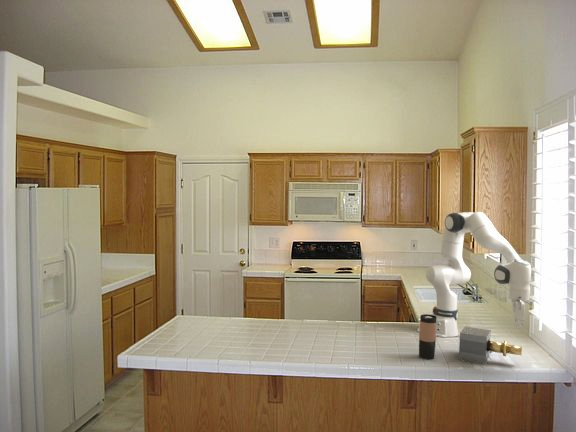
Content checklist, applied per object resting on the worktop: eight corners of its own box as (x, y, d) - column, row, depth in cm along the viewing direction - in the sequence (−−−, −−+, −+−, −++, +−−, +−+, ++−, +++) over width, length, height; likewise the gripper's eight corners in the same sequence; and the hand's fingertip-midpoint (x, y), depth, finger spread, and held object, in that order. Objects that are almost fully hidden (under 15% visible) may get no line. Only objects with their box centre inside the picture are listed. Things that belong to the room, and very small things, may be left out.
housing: (458, 359, 253) (460, 332, 252) (463, 352, 265) (465, 326, 264) (485, 364, 247) (486, 336, 246) (489, 356, 259) (490, 330, 259)
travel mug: (432, 354, 259) (434, 314, 258) (436, 360, 251) (439, 318, 250) (416, 354, 258) (418, 314, 257) (420, 359, 251) (422, 317, 250)
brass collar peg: (485, 354, 250) (486, 340, 250) (487, 350, 256) (488, 336, 256) (520, 360, 243) (521, 345, 243) (521, 356, 249) (522, 341, 249)
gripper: (528, 300, 235) (526, 331, 236) (525, 291, 254) (523, 320, 255) (513, 298, 237) (511, 329, 238) (510, 290, 256) (508, 318, 257)
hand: (517, 324), depth 247 cm, fingers open, 8 cm apart
